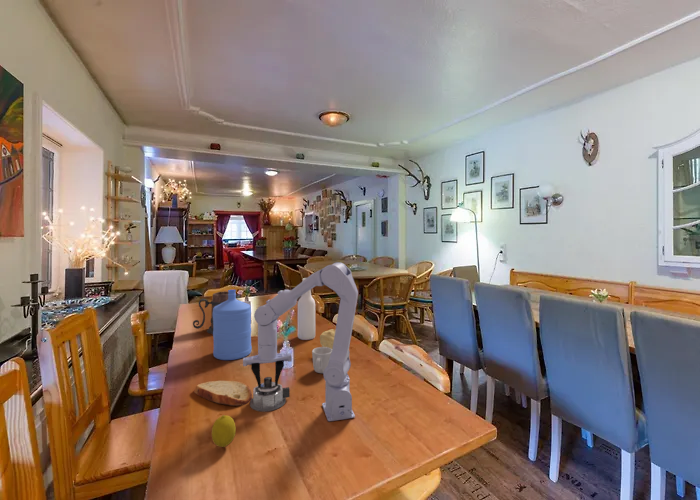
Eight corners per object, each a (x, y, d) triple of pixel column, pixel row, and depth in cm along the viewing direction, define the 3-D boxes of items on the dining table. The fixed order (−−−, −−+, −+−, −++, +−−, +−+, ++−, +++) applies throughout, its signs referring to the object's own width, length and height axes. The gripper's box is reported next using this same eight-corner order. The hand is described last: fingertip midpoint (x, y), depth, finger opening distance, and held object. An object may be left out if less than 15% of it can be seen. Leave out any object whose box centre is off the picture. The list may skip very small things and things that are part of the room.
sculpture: (315, 353, 142) (315, 329, 142) (337, 347, 150) (337, 324, 150) (332, 361, 134) (332, 335, 133) (353, 354, 142) (353, 329, 141)
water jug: (253, 357, 137) (252, 292, 135) (212, 363, 131) (211, 294, 130) (250, 345, 151) (249, 286, 150) (213, 350, 146) (212, 288, 144)
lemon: (238, 439, 83) (238, 409, 83) (231, 454, 78) (231, 421, 77) (216, 439, 83) (216, 409, 83) (208, 454, 78) (207, 422, 77)
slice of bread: (195, 388, 111) (194, 377, 111) (249, 380, 117) (249, 370, 117) (188, 416, 94) (187, 404, 94) (252, 405, 100) (252, 393, 100)
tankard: (237, 323, 188) (237, 289, 187) (242, 331, 173) (241, 294, 172) (192, 328, 177) (191, 292, 176) (193, 338, 162) (192, 298, 161)
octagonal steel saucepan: (290, 405, 99) (290, 393, 99) (253, 410, 96) (252, 398, 96) (288, 391, 108) (288, 380, 107) (253, 395, 105) (253, 384, 105)
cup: (327, 379, 117) (327, 358, 117) (306, 377, 119) (306, 356, 118) (335, 367, 128) (335, 347, 127) (315, 365, 129) (315, 346, 129)
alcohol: (296, 335, 167) (296, 277, 165) (313, 334, 169) (313, 276, 168) (298, 340, 158) (298, 280, 157) (316, 339, 161) (316, 279, 159)
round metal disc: (287, 408, 98) (287, 407, 98) (249, 414, 95) (249, 412, 95) (284, 391, 108) (284, 390, 108) (250, 395, 106) (250, 394, 106)
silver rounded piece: (279, 402, 99) (279, 382, 99) (257, 405, 98) (256, 384, 97) (278, 392, 106) (278, 373, 105) (257, 395, 104) (257, 375, 104)
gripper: (290, 336, 106) (290, 377, 107) (243, 340, 103) (244, 382, 103) (292, 344, 100) (292, 387, 100) (242, 348, 96) (243, 393, 97)
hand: (267, 385), depth 101 cm, fingers open, 4 cm apart
